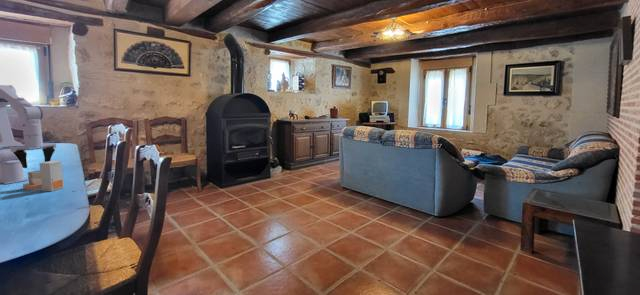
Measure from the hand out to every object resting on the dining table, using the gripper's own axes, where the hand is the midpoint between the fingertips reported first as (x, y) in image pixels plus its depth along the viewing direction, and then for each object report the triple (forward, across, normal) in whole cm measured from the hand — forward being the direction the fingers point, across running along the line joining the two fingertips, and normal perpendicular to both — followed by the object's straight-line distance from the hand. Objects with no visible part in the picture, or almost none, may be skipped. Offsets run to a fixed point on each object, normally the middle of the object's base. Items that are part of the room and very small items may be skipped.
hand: (36, 166), depth 130 cm
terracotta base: (+9, -1, -1) cm, 9 cm away
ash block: (+7, -1, -1) cm, 7 cm away
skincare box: (+10, +1, -9) cm, 13 cm away
